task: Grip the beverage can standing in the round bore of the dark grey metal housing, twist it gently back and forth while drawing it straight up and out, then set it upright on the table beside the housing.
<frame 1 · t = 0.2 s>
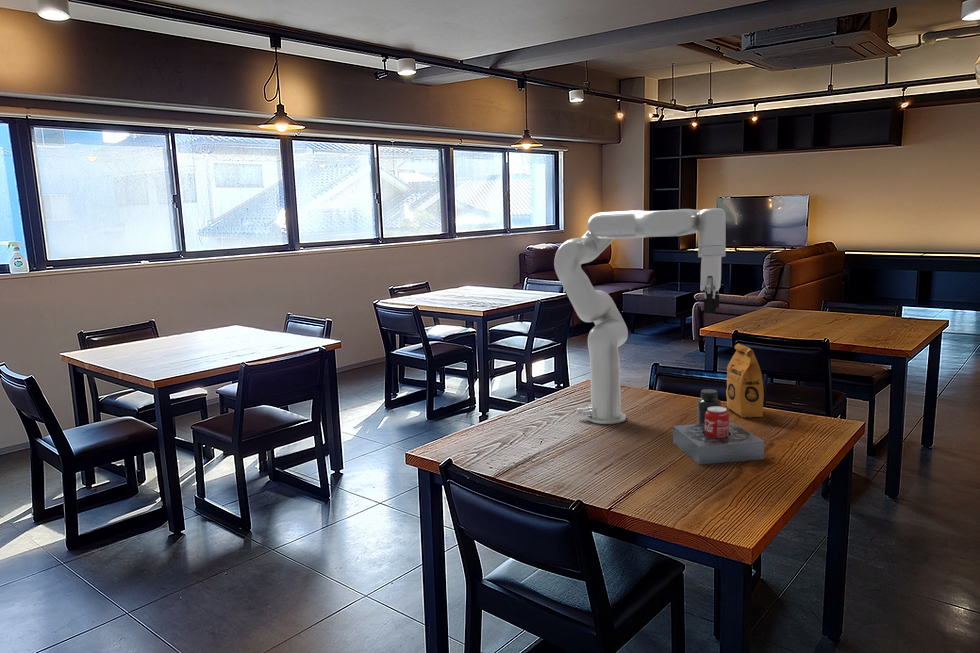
hand: (711, 310, 201), 37 cm above the table, tool pointing down, fingers open, 9 cm apart
beverage can: (716, 451, 190), resting in housing
supplement bottle: (709, 429, 208), on the table
coffee package: (744, 413, 223), on the table
housing: (716, 450, 190), on the table
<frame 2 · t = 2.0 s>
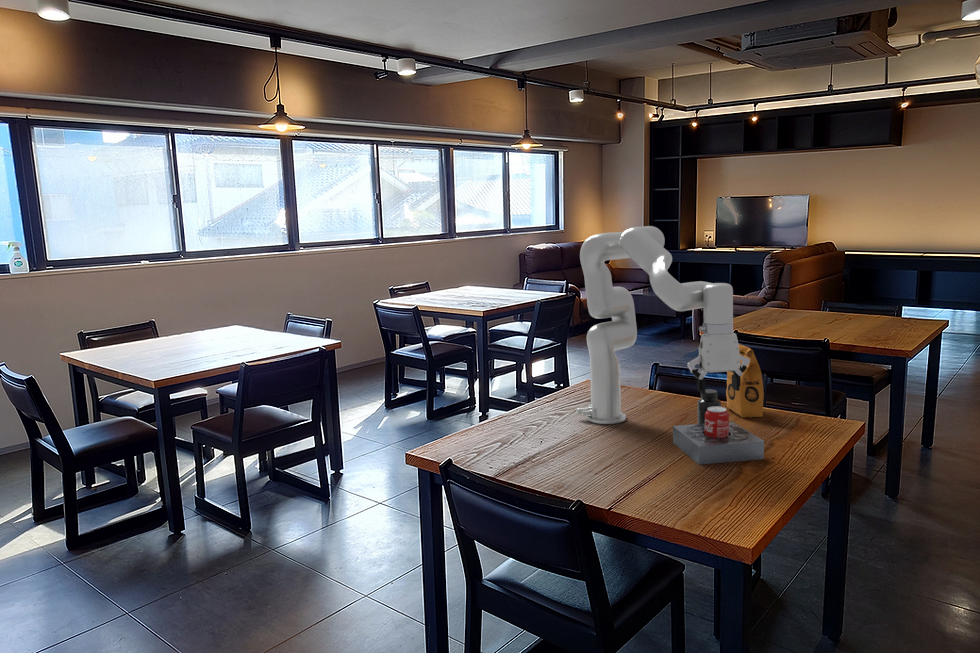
hand: (718, 391, 187), 17 cm above the table, tool pointing down, fingers open, 9 cm apart
nothing on the table moved.
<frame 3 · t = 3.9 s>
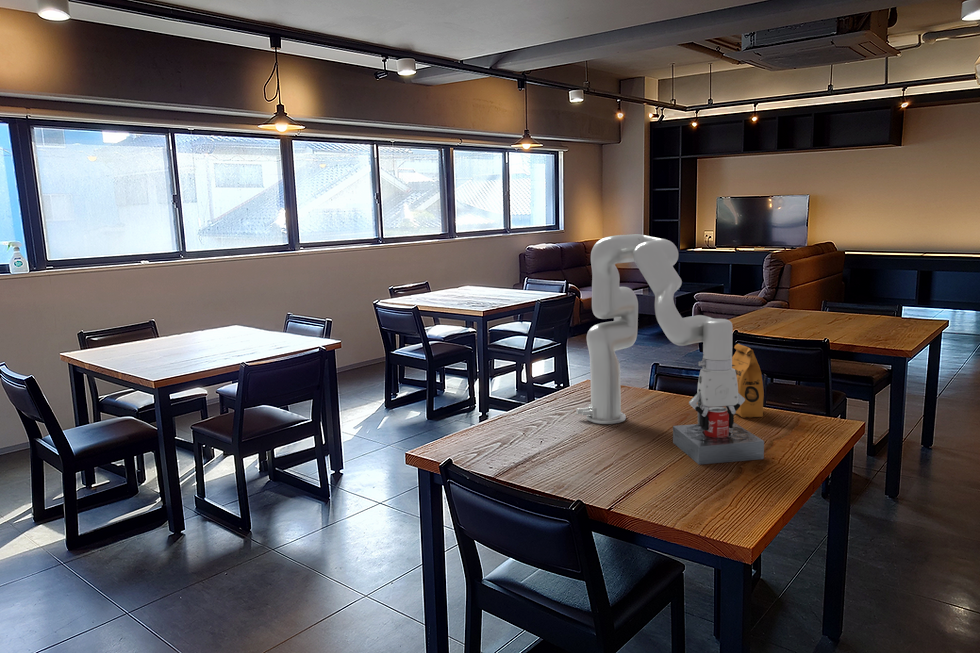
hand: (716, 427, 189), 7 cm above the table, tool pointing down, fingers closed on beverage can, 6 cm apart
beverage can: (716, 451, 190), resting in housing, touching gripper
everything else where it was.
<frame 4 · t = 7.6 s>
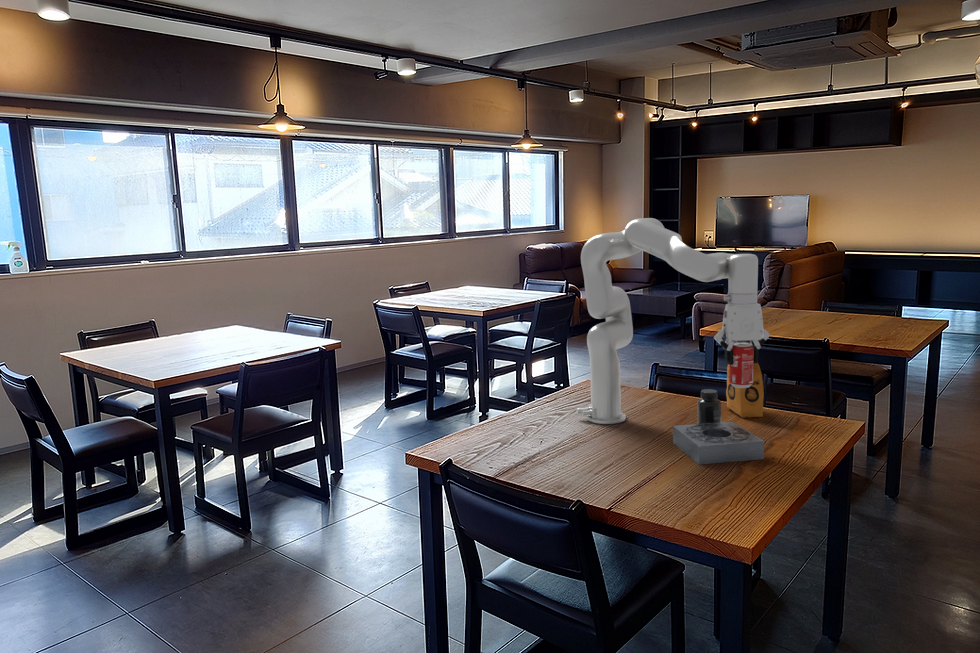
hand: (741, 362, 190), 24 cm above the table, tool pointing down, fingers closed on beverage can, 6 cm apart
beverage can: (740, 386, 191), point 17 cm above the table, touching gripper
everything else where it was.
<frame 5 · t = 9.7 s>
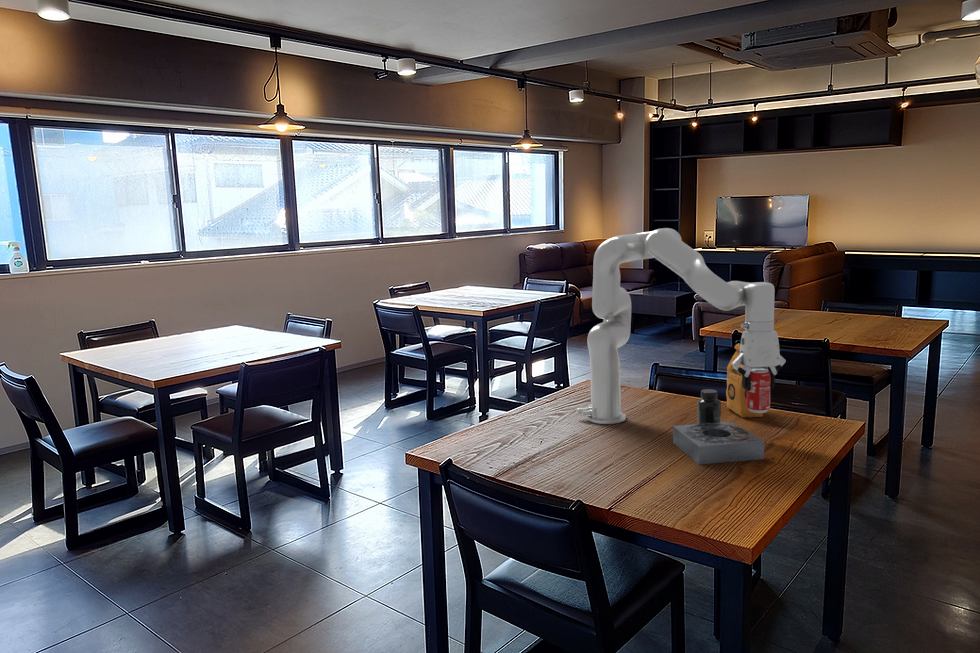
hand: (758, 388, 195), 15 cm above the table, tool pointing down, fingers closed on beverage can, 6 cm apart
beverage can: (758, 411, 196), point 8 cm above the table, touching gripper
everything else where it was.
when the fingers open (8 cm above the table, at t = 11.5 s): beverage can drops 1 cm, on the table.
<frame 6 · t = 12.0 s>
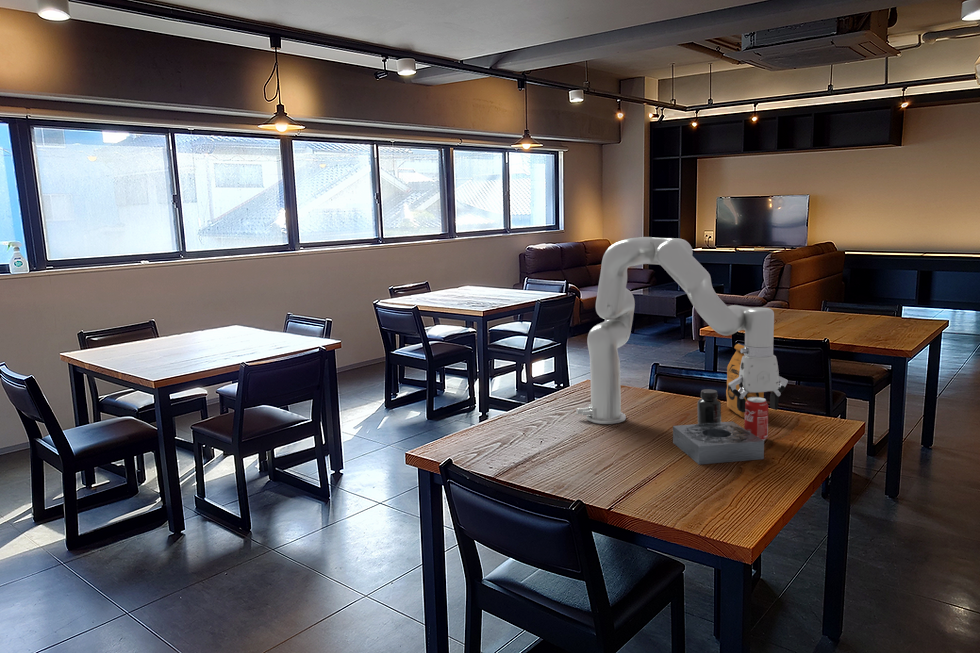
hand: (757, 409, 196), 9 cm above the table, tool pointing down, fingers open, 9 cm apart
beverage can: (755, 440, 197), on the table
everything else where it was.
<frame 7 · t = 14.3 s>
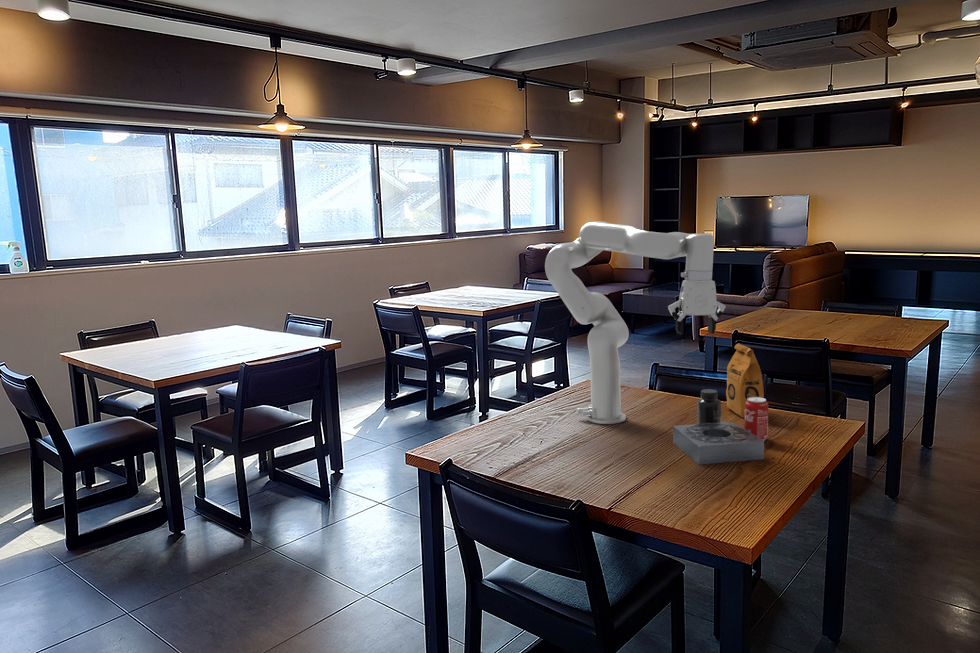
hand: (695, 333, 203), 30 cm above the table, tool pointing down, fingers open, 9 cm apart
nothing on the table moved.
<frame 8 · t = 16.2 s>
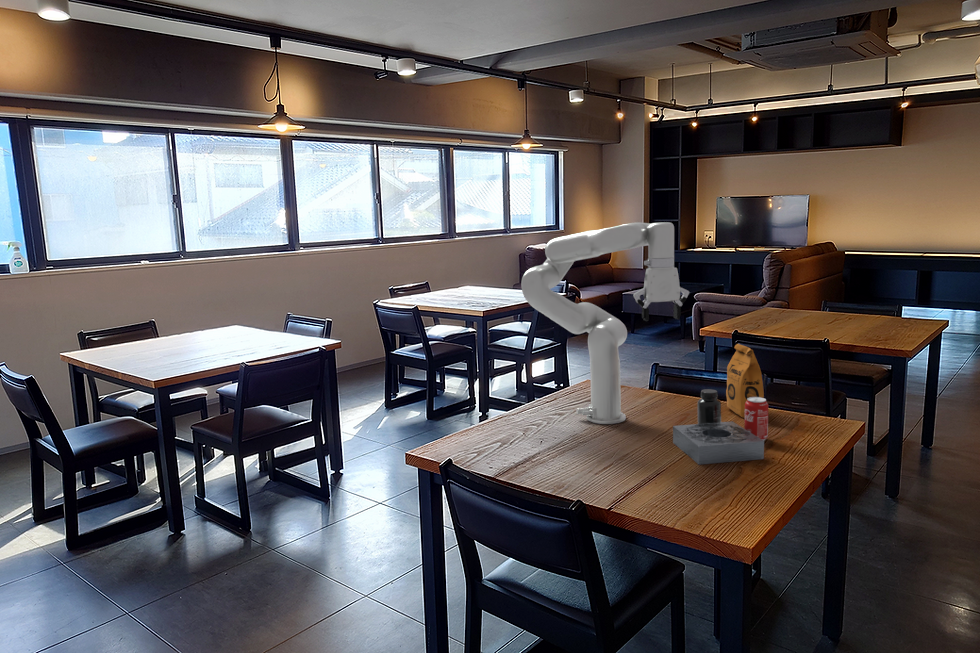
hand: (661, 319, 209), 33 cm above the table, tool pointing down, fingers open, 9 cm apart
nothing on the table moved.
at the end: beverage can inside the target area (0.3 cm from its centre), on the table; beverage can tilted 0°; beverage can touching table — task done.
